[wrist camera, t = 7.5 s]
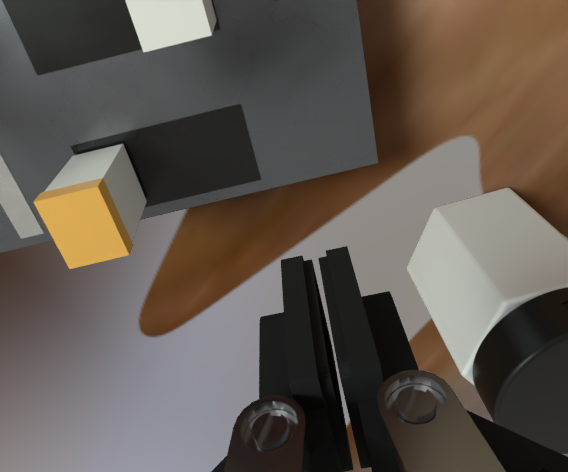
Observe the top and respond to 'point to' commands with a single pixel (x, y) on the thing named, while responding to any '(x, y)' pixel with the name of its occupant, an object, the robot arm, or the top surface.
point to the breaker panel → (179, 102)
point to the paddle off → (171, 21)
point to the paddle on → (93, 206)
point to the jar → (501, 308)
